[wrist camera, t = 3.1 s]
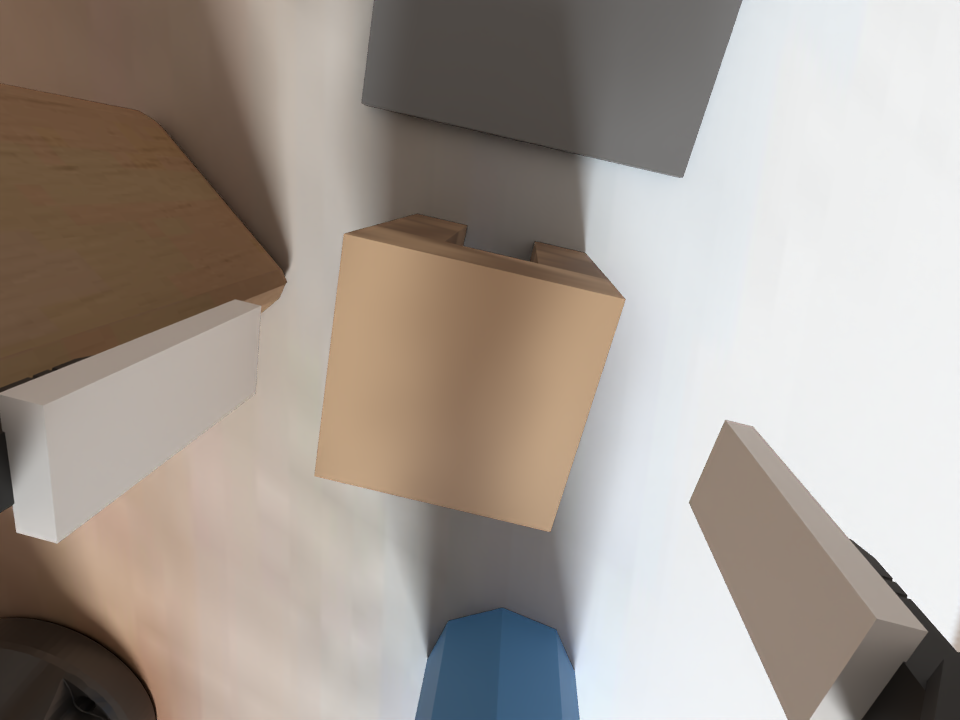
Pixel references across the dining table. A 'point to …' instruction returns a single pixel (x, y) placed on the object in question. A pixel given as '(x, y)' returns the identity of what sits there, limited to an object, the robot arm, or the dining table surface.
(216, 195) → the wooden block
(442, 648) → the water bottle
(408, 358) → the notched wood piece
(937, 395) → the dining table surface
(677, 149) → the mat
